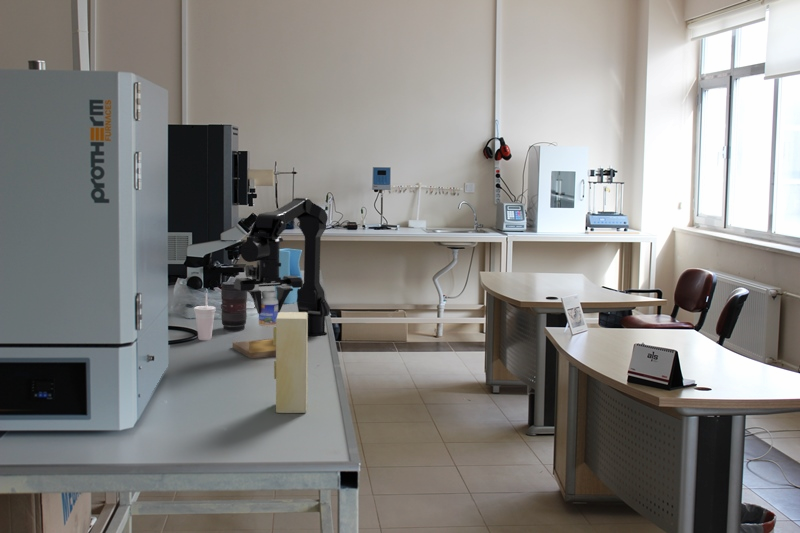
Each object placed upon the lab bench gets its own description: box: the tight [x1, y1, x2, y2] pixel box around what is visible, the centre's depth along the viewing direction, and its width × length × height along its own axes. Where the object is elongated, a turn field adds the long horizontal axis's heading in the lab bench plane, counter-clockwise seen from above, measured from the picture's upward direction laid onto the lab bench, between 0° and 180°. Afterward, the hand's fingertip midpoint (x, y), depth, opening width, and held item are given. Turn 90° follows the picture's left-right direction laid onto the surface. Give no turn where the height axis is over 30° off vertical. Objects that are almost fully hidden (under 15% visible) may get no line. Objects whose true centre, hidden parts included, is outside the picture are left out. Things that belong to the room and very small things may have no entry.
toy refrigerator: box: [272, 311, 309, 414], centre depth 175 cm, size 8×7×21 cm
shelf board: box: [232, 338, 276, 359], centre depth 228 cm, size 15×14×4 cm
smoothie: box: [193, 292, 217, 341], centre depth 240 cm, size 6×6×14 cm
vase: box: [274, 248, 303, 305], centre depth 306 cm, size 8×8×20 cm
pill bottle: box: [258, 290, 278, 328], centre depth 226 cm, size 5×5×10 cm
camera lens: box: [220, 281, 248, 332], centre depth 255 cm, size 8×8×15 cm
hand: (268, 313), depth 226 cm, fingers closed on pill bottle, 5 cm apart
